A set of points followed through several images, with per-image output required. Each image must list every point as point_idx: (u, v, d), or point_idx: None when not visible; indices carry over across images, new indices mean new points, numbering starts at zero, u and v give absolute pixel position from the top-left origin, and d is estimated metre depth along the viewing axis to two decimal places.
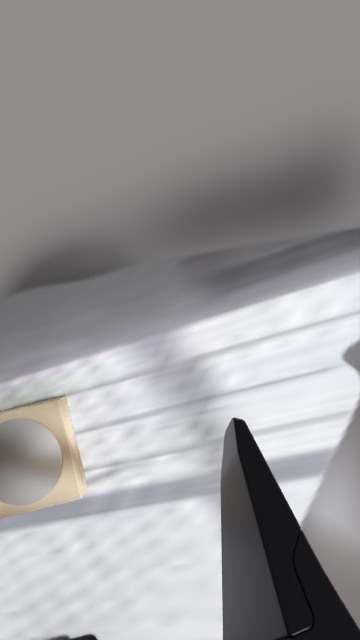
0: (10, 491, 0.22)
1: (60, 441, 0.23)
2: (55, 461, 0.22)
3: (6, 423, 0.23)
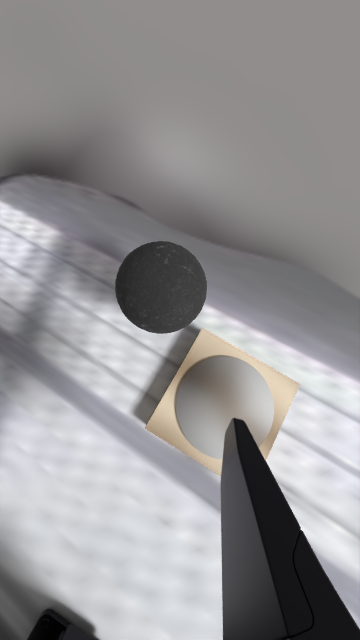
0: (195, 423, 0.19)
1: (274, 422, 0.19)
2: (257, 436, 0.19)
3: (242, 362, 0.20)
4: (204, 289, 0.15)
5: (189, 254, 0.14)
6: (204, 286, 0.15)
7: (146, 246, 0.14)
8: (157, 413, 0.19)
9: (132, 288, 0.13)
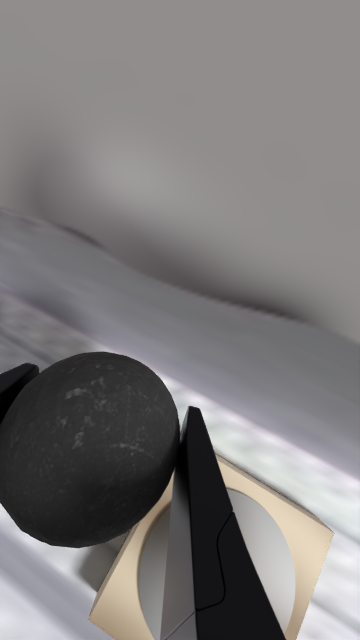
0: None
1: (296, 603, 0.12)
2: None
3: (244, 499, 0.13)
4: (172, 458, 0.07)
5: (140, 394, 0.07)
6: (171, 453, 0.07)
7: (49, 385, 0.07)
8: (110, 591, 0.12)
9: (7, 494, 0.06)
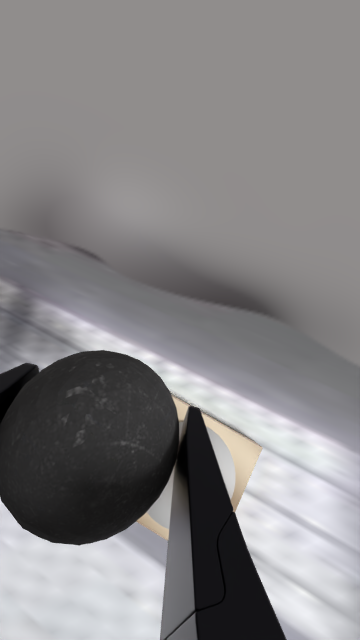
0: None
1: (236, 489, 0.19)
2: None
3: None
4: (172, 456, 0.07)
5: (140, 393, 0.07)
6: (171, 451, 0.07)
7: (50, 383, 0.07)
8: None
9: (8, 492, 0.06)
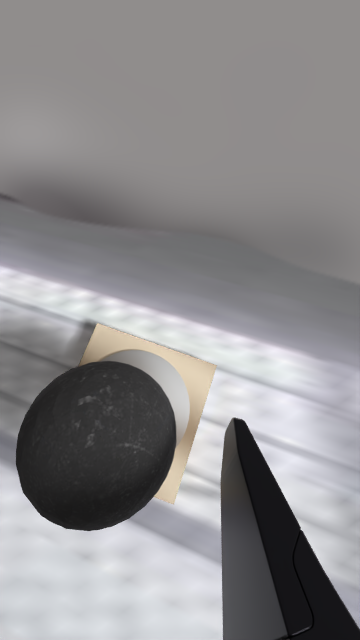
0: None
1: (192, 414, 0.17)
2: None
3: (146, 354, 0.17)
4: (169, 456, 0.09)
5: (142, 401, 0.08)
6: (169, 451, 0.09)
7: (63, 393, 0.08)
8: None
9: (29, 485, 0.07)
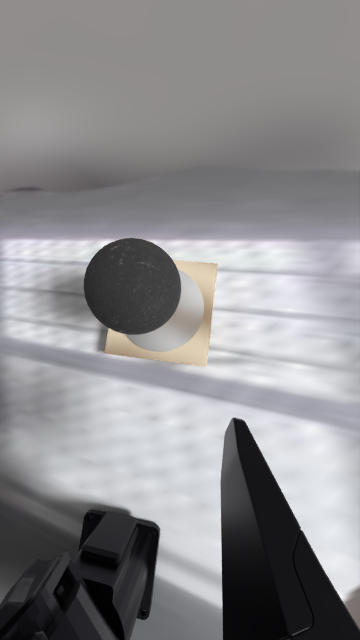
0: None
1: (206, 302, 0.22)
2: (195, 319, 0.21)
3: None
4: (173, 279, 0.14)
5: (148, 246, 0.13)
6: (172, 276, 0.14)
7: (102, 250, 0.13)
8: (110, 338, 0.22)
9: (96, 297, 0.13)
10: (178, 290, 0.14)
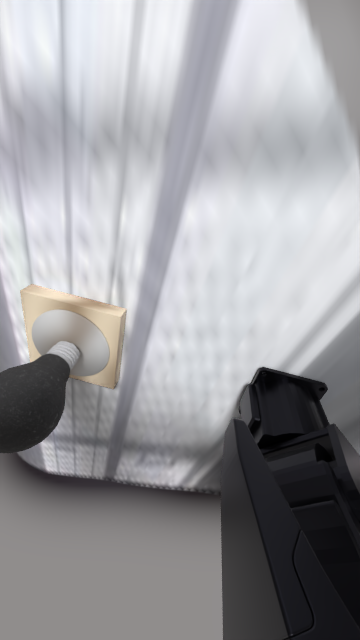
0: (93, 362, 0.24)
1: (60, 307, 0.22)
2: (76, 320, 0.22)
3: (34, 339, 0.24)
4: None
5: None
6: None
7: None
8: (101, 383, 0.26)
9: (17, 451, 0.16)
10: (10, 386, 0.16)
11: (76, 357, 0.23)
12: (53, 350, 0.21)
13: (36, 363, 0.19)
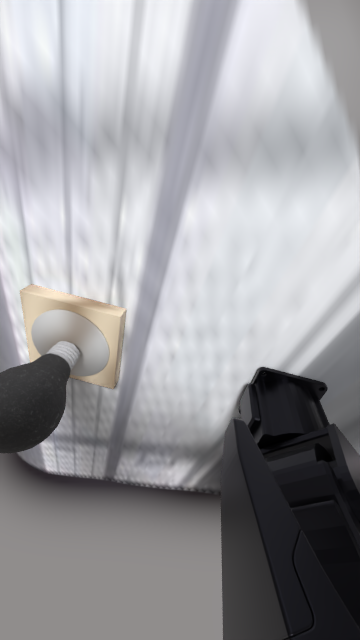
0: (93, 362, 0.24)
1: (60, 307, 0.22)
2: (76, 320, 0.22)
3: (33, 339, 0.24)
4: None
5: None
6: None
7: None
8: (100, 383, 0.26)
9: (18, 451, 0.16)
10: (11, 385, 0.16)
11: (76, 357, 0.22)
12: (53, 350, 0.21)
13: (37, 363, 0.19)
